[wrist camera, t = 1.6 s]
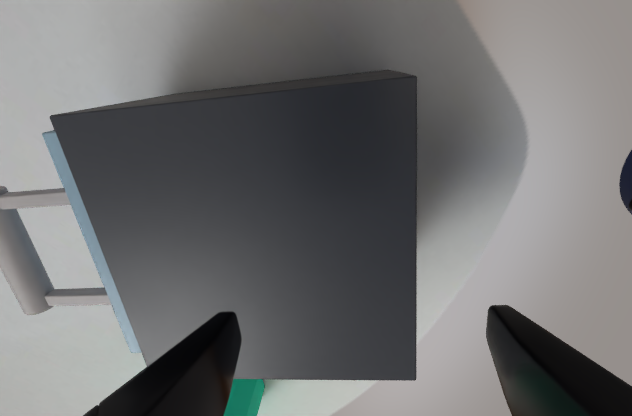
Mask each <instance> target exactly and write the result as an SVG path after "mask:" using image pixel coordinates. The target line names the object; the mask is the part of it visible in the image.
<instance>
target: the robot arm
mask: <svg viewBox="0 0 632 416" xmlns="http://www.w3.org/2000/svg"><path fill="white" fill-rule="evenodd" d="M629 209H630V210H631V211H632V200H631V201H630V203H629ZM486 338H487V342H488V345H489V349H490V351H491V355H492V358H493V361H494V364H495V367H496V371H497V374H498V377H499V380H500V383H501V386H502V389H503V393H504V395H505V398H506V400H507V404H508V407H509V409H510V411H511V414H512V416H632V386H630V385H629V384H627V383H626V382H624V381H623V380H621V379H620V378H618V377H616V376H615V375H614V374H612V373H611V372H609V371H607V370H606V369H605V368H603V367H601V366H600V365H598V364H597V363H595V362H594V361H592V360H591V359H589V358H587V357H586V356H585V355H583V354H582V353H580V352H579V351H577V350H576V349H574V348H573V347H571V346H569V345H568V344H566V343H565V342H563V341H562V340H560V339H559V338H557V337H556V336H554V335H553V334H551V333H550V332H548V331H547V330H545V329H544V328H542V327H541V326H539V325H537V324H536V323H534V322H533V321H531V320H530V319H528V318H527V317H525V316H524V315H522V314H521V313H519V312H518V311H516V310H515V309H513V308H512V307H509V306H508V305H492V306H490V307H489V309H488V317H487V328H486ZM241 342H242V336H241V331H240V327H239V323H238V319H237V316H236V314H235V312H233V311H223V312H219V313H217V314H216V315H215V316H213V317H212V318H211V319H209V320H208V321H207V322H205V323H204V324H203V325H201V326H200V327H199V328H197V329H196V330H195V331H194V332H192V333H191V334H190V335H188V336H187V337H186V338H184V339H183V340H182V341H180V342H179V343H178V344H176V345H175V346H174V347H173V348H171V349H170V350H169V351H167V352H166V353H165V354H163V355H162V356H161V357H159V358H158V359H157V360H156V361H154V362H153V363H152V364H150V365H149V366H148V367H146V368H145V369H144V370H142V371H141V372H140V373H138V374H137V375H136V376H135V377H133V378H132V379H131V380H129V381H128V382H127V383H125V384H124V385H123V386H121V387H120V388H119V389H117V390H116V391H115V392H114V393H112V394H111V395H110V396H108V397H107V398H106V399H104V400H103V401H102V402H101V403H100V404H99V406H98V405H97V406H95V407H94V408H92V409H91V410H90V411H88V412H87V413H86V414H85V415H83V416H223V415H224V412H225V409H226V406H227V403H228V400H229V396H230V392H231V388H232V383H233V379H234V374H235V370H236V365H237V361H238V357H239V352H240V348H241Z"/></svg>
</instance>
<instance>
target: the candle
mask: <svg viewBox="0 0 632 416" xmlns="http://www.w3.org/2000/svg"><path fill="white" fill-rule="evenodd" d="M264 388H265V385H264V382H263V379H233V383H232V388H231V392H230V396H229V400H228V403H227V406H226V409H225V412H224V415H223V416H257V413H258V410H259V406H260V402H261V399H262V395H263V392H264Z"/></svg>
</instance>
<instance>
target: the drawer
mask: <svg viewBox="0 0 632 416" xmlns="http://www.w3.org/2000/svg"><path fill="white" fill-rule="evenodd" d="M42 135H43V138H44V140H45V143H46V145H47V147H48V150H49V152H50V155H51V157H52V160H53V162H54V165H55V167H56V170H57V172H58V174H59V177H60V179H61V182H62V184H63V187H64V188H60V189H47V190H34V191H21V192H8V190H7V188H6V187H4V186H0V268H1V270H2V272H3V274H4V276H5V278H6V280H7V282H8V284H9V285H10V287H11V289H12V291H13V293H14V295H15V297H16V299H17V300H18V302H19V304H20V306H21V308H22V310H23V312H24V313H25V314H26V315H36V314H39V313H42V312H44V311H47V310H49V309H50V308H52V307H53V306H74V305H112V307H113V310H114V312H115V315H116V317H117V319H118V322H119V324H120V327H121V329H122V332H123V334H124V337H125V339H126V342H127V344H128V347H129V349H130V351H131V353H142V352H141V349H140V347H139V344H138V342H137V339H136V337H135V334H134V332H133V329H132V326H131V324H130V321H129V319H128V316H127V314H126V311H125V309H124V306H123V303H122V301H121V298H120V296H119V293H118V291H117V288H116V286H115V283H114V280H113V278H112V275H111V273H110V270H109V268H108V265H107V263H106V260H105V257H104V255H103V252H102V250H101V247H100V245H99V242H98V240H97V237H96V234H95V232H94V229H93V227H92V224H91V222H90V219H89V217H88V214H87V211H86V209H85V206H84V204H83V201H82V199H81V196H80V194H79V191H78V188H77V186H76V183H75V181H74V178H73V176H72V173H71V171H70V168H69V165H68V163H67V160H66V158H65V155H64V153H63V150H62V148H61V145H60V142H59V140H58V137H57V135H56V132H55V130H53V131H49V132H44V133H42ZM62 205H71V206H72V209H73V211H74V214H75V216H76V219H77V221H78V224H79V226H80V229H81V231H82V233H83V236H84V238H85V241H86V243H87V246H88V248H89V251H90V253H91V256H92V258H93V261H94V263H95V265H96V268H97V270H98V273H99V275H100V278H101V280H102V283H103V285H104V288H80V289H54V287H53V285H52V283H51V281H50V279H49V277H48V275H47V273H46V271H45V268H44V266H43V264H42V262H41V260H40V258H39V256H38V254H37V252H36V249H35V247H34V245H33V243H32V241H31V239H30V237H29V235H28V232H27V230H26V228H25V226H24V224H23V222H22V220H21V218H20V216H19V213H18V211H17V209H19V208H33V207H48V206H62Z"/></svg>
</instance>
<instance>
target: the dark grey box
mask: <svg viewBox="0 0 632 416" xmlns="http://www.w3.org/2000/svg"><path fill="white" fill-rule="evenodd" d="M50 119H51V122H52V125H53V127H54V130H55V132H56V135H57V137H58V140H59V142H60V145H61V148H62V150H63V153H64V155H65V158H66V160H67V163H68V165H69V168H70V171H71V173H72V176H73V178H74V181H75V183H76V186H77V188H78V191H79V194H80V196H81V199H82V201H83V204H84V206H85V209H86V211H87V214H88V217H89V219H90V222H91V224H92V227H93V229H94V232H95V234H96V237H97V240H98V242H99V245H100V247H101V250H102V252H103V255H104V257H105V260H106V263H107V265H108V268H109V270H110V273H111V275H112V278H113V280H114V283H115V286H116V288H117V291H118V293H119V296H120V298H121V301H122V303H123V306H124V309H125V311H126V314H127V316H128V319H129V321H130V324H131V326H132V329H133V332H134V334H135V337H136V339H137V342H138V344H139V347H140V349H141V352H142V355H143V357H144V360H145V362H146V365H147V367H148V366H149V365H150V364H152V363H153V362H154V361H156V360H157V359H158V358H159V357H161V356H162V355H163V354H165V353H166V352H167V351H169V350H170V349H171V348H173V347H174V346H175V345H176V344H178V343H179V342H180V341H182V340H183V339H184V338H186V337H187V336H188V335H190V334H191V333H192V332H194V331H195V330H196V329H197V328H199V327H200V326H201V325H203V324H204V323H205V322H207V321H208V320H209V319H211V318H212V317H213V316H215V315H216V314H217V313H219V312H223V311H233V312H235V314H236V316H237V319H238V323H239V327H240V331H241V336H242V342H241V348H240V352H239V357H238V361H237V365H236V370H235V374H234V379H300V380H416V226H417V77H416V76H414V75H410V74H405V73H401V72H396V71H391V70H381V71H372V72H364V73H355V74H346V75H337V76H328V77H319V78H311V79H302V80H293V81H284V82H275V83H266V84H258V85H249V86H240V87H231V88H222V89H213V90H204V91H196V92H187V93H178V94H171V95H166V96H160V97H154V98H148V99H143V100H137V101H131V102H125V103H120V104H114V105H108V106H102V107H97V108H91V109H85V110H79V111H74V112H69V113H62V114H57V115H51V116H50Z"/></svg>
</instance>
